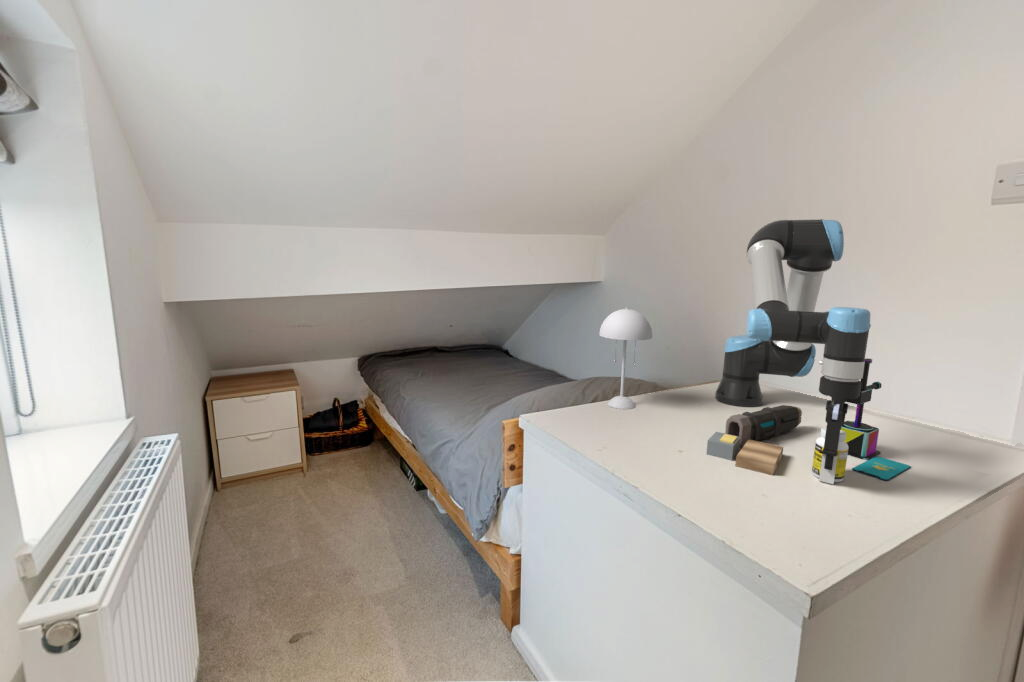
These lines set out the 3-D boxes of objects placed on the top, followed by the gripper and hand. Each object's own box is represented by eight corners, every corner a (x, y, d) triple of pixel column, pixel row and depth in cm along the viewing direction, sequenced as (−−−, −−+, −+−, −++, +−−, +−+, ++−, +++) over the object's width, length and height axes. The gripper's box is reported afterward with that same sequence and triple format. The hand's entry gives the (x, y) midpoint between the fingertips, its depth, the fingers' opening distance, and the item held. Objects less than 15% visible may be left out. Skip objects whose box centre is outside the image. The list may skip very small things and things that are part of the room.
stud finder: (714, 445, 127) (716, 430, 126) (739, 451, 123) (740, 435, 122) (706, 455, 120) (707, 438, 120) (731, 461, 117) (733, 444, 116)
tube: (808, 443, 137) (746, 449, 122) (785, 441, 143) (722, 447, 128) (806, 405, 139) (743, 406, 123) (782, 404, 144) (720, 406, 129)
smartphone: (912, 465, 115) (887, 479, 107) (911, 468, 115) (887, 483, 107) (876, 455, 121) (850, 468, 113) (876, 458, 121) (850, 471, 113)
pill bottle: (805, 473, 110) (810, 427, 108) (823, 469, 112) (829, 424, 111) (831, 485, 105) (837, 437, 103) (850, 480, 107) (857, 433, 105)
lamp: (588, 398, 168) (593, 305, 163) (634, 397, 171) (639, 305, 166) (607, 413, 151) (612, 310, 146) (656, 411, 155) (663, 310, 149)
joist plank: (747, 448, 125) (748, 439, 124) (782, 456, 120) (783, 446, 120) (735, 465, 114) (736, 456, 113) (773, 475, 109) (774, 464, 108)
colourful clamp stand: (861, 463, 117) (875, 365, 113) (821, 450, 124) (833, 359, 120) (900, 443, 130) (914, 356, 126) (862, 433, 138) (874, 350, 134)
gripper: (824, 367, 115) (812, 458, 119) (816, 383, 99) (803, 486, 103) (862, 372, 110) (849, 466, 114) (861, 389, 95) (845, 497, 98)
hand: (827, 475), depth 108 cm, fingers open, 7 cm apart
